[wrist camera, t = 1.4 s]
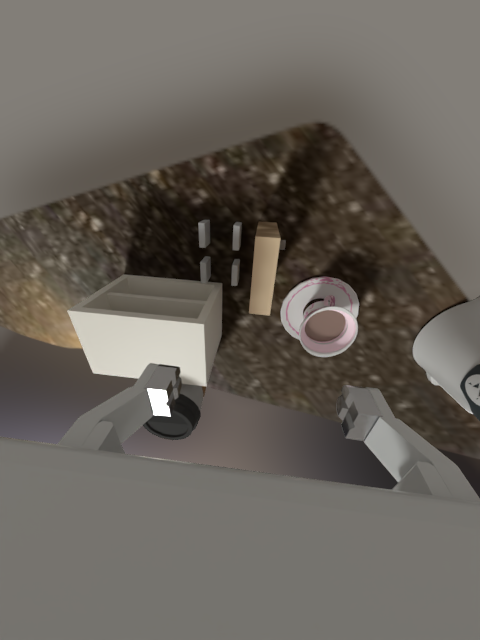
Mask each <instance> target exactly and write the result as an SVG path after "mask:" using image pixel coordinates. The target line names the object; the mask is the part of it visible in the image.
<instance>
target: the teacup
mask: <svg viewBox="0 0 480 640" xmlns="http://www.w3.org/2000/svg"><path fill="white" fill-rule="evenodd" d="M318 298H322V299H324V301H318V302H315V303H313V304H311V305H310V306H309V307H308V308H307V309H306V310H305V312H304V316H303V310H304V307H305V306H306V304H307V303H308V302H310V301H311V300H314V299H318ZM329 301H330V302H329ZM358 311H359V301H358V298H357V294H356V293H355V291H354V290H353V289H352V288H351V287H350V285H349V284H347V283H345V282H343V281H342V280H340V279H338V278H332V277H326V276H324V277H316V278H311V279H308V280H306V281H304V282H301V283H299V284H298V285H297V286H296V287H294V288H293V289H292V290H290V292H289V293H288V294H287V296H286V297H285V299H284V300H283V304H282V307H281V321H282V323H283V325H284V327H285V329H286V331H287V332H288V333H290V334H291V335H292V336H293V337H295V338H297V339H299V340H300V342H301V344H302V346H303V348H304V349H305V350H306V351H307V352H309V353H310V354H312V355H315V356H318V357H331V356H335V355H337V354H340V353H342V352H343V351H345V350H346V349H347V348H348V347H349V346H350V345H351V344H352V343H353V342H354V340H355V338H356V336H357V333H358V323H357V320H356V318H357V316H358Z"/></svg>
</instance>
